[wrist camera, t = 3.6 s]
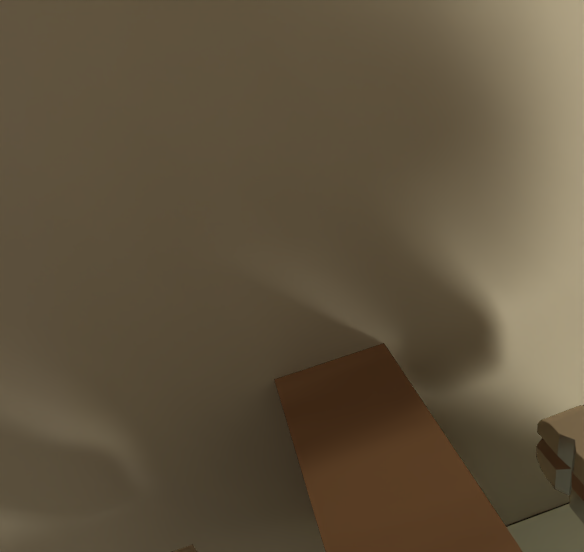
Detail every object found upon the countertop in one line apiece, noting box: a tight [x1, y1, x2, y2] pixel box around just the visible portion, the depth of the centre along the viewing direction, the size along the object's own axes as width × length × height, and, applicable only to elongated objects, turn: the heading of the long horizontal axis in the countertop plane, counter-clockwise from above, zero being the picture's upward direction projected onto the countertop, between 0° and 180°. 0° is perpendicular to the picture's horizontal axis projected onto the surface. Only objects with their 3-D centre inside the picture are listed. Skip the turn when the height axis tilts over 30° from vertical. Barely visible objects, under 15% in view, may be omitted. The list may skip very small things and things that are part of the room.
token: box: [274, 343, 523, 552], centre depth 10 cm, size 5×2×5 cm, turn 13°
